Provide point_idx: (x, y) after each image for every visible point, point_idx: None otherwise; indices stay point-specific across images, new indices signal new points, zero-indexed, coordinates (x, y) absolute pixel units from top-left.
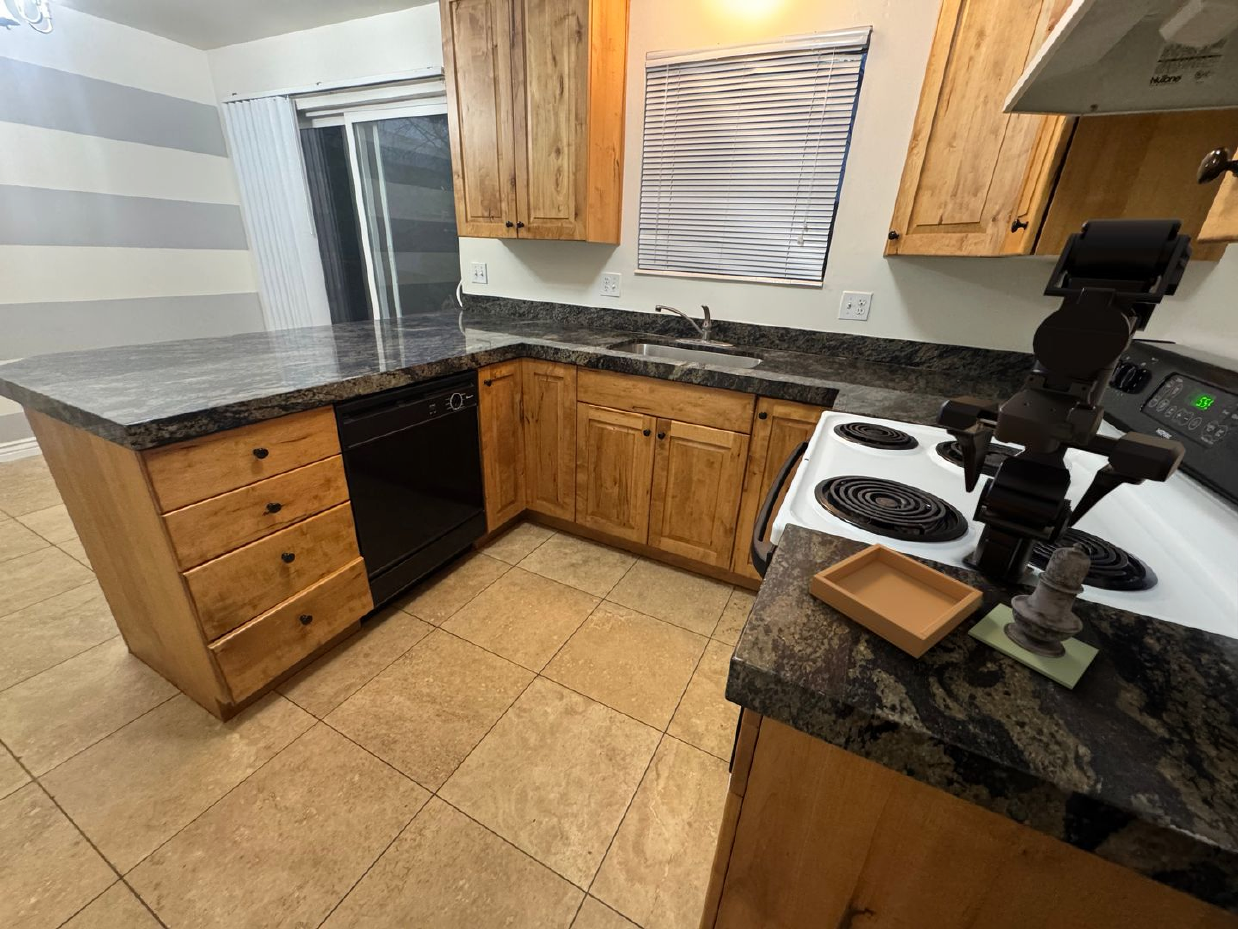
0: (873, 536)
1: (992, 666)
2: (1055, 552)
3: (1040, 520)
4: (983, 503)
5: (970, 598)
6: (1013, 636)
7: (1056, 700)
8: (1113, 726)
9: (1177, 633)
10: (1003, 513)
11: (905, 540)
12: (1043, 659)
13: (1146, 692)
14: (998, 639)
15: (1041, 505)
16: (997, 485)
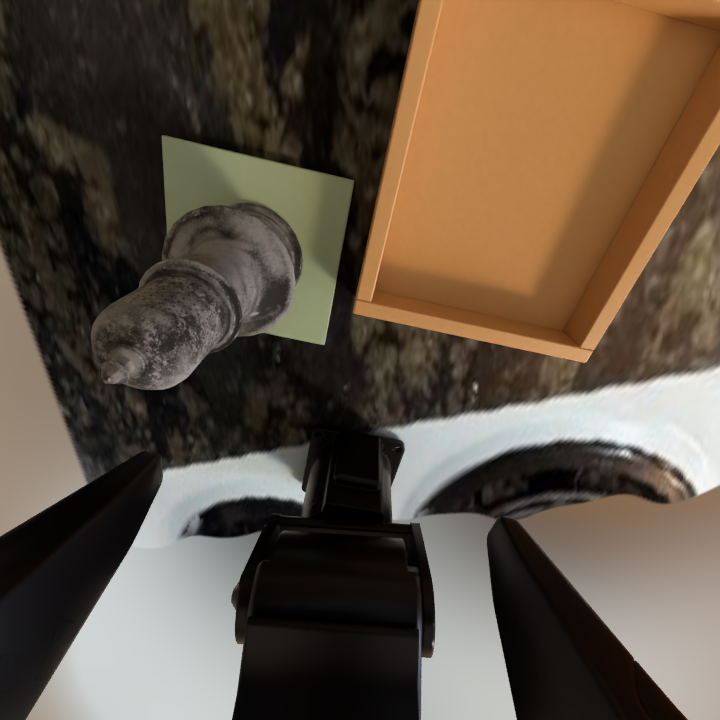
0: (567, 428)
1: (290, 83)
2: (185, 340)
3: (288, 548)
4: (415, 566)
5: (371, 262)
6: (280, 227)
7: (172, 62)
8: (83, 64)
9: (124, 452)
10: (367, 544)
11: (504, 453)
12: (223, 196)
13: (93, 247)
14: (300, 199)
15: (290, 592)
16: (406, 628)
